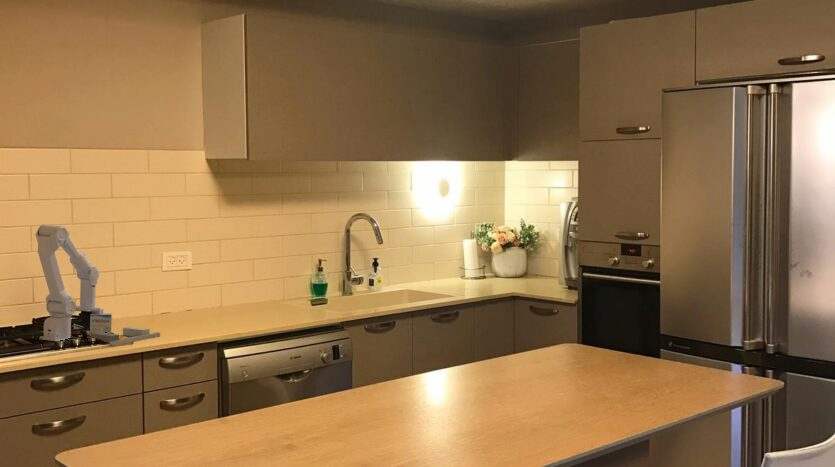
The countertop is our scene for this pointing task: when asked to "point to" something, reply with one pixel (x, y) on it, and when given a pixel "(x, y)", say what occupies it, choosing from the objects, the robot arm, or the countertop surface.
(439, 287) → the countertop surface
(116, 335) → the mounted modules
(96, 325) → the medicine box
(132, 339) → the din rail
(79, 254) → the robot arm
